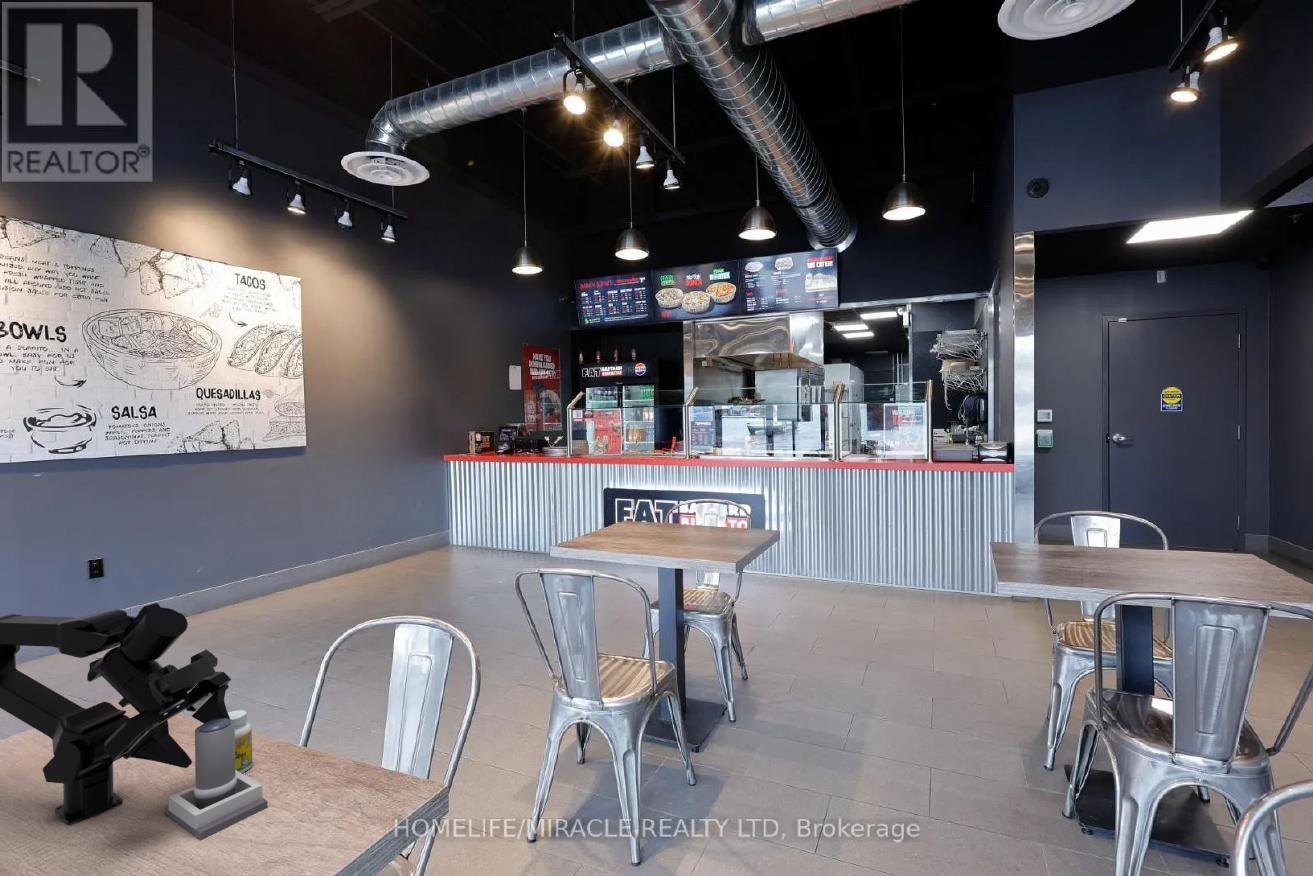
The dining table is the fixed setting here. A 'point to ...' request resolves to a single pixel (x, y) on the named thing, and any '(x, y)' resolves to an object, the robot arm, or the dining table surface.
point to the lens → (214, 762)
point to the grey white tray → (216, 808)
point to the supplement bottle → (242, 740)
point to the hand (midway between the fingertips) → (212, 749)
